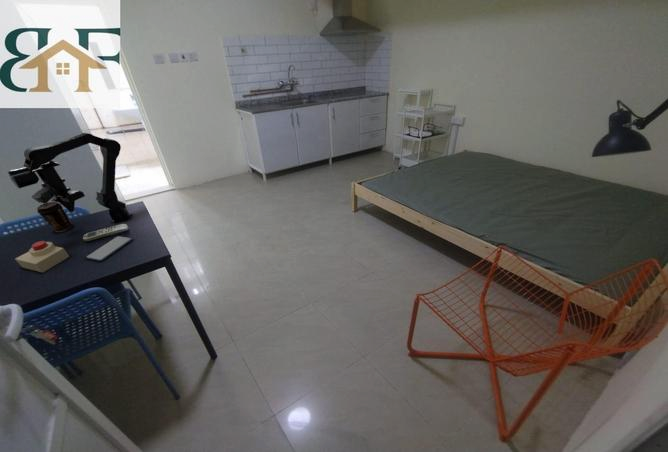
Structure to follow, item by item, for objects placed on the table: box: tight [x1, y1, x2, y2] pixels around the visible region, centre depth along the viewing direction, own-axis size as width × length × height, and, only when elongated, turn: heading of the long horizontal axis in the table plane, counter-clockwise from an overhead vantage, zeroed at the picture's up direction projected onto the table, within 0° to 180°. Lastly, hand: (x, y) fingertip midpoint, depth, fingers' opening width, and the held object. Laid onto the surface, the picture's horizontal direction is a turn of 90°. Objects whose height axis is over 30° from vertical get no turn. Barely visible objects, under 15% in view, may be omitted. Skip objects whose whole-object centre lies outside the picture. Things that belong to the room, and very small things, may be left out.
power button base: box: [14, 241, 70, 274], centre depth 111 cm, size 10×12×6 cm
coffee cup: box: [36, 201, 73, 233], centre depth 131 cm, size 9×8×13 cm
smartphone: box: [86, 235, 133, 262], centre depth 118 cm, size 8×1×15 cm
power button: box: [31, 240, 48, 251], centre depth 110 cm, size 4×4×2 cm
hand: (72, 211), depth 123 cm, fingers closed
